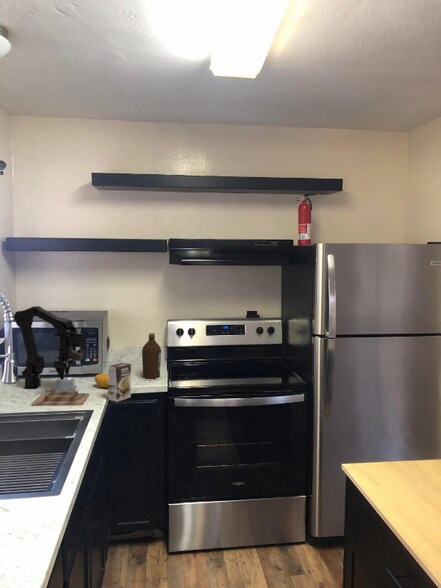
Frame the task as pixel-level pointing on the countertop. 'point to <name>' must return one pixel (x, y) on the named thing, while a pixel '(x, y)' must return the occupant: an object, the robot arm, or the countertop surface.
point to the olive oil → (151, 358)
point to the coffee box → (119, 382)
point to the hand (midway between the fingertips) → (64, 377)
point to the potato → (102, 380)
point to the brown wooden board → (61, 398)
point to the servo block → (64, 385)
